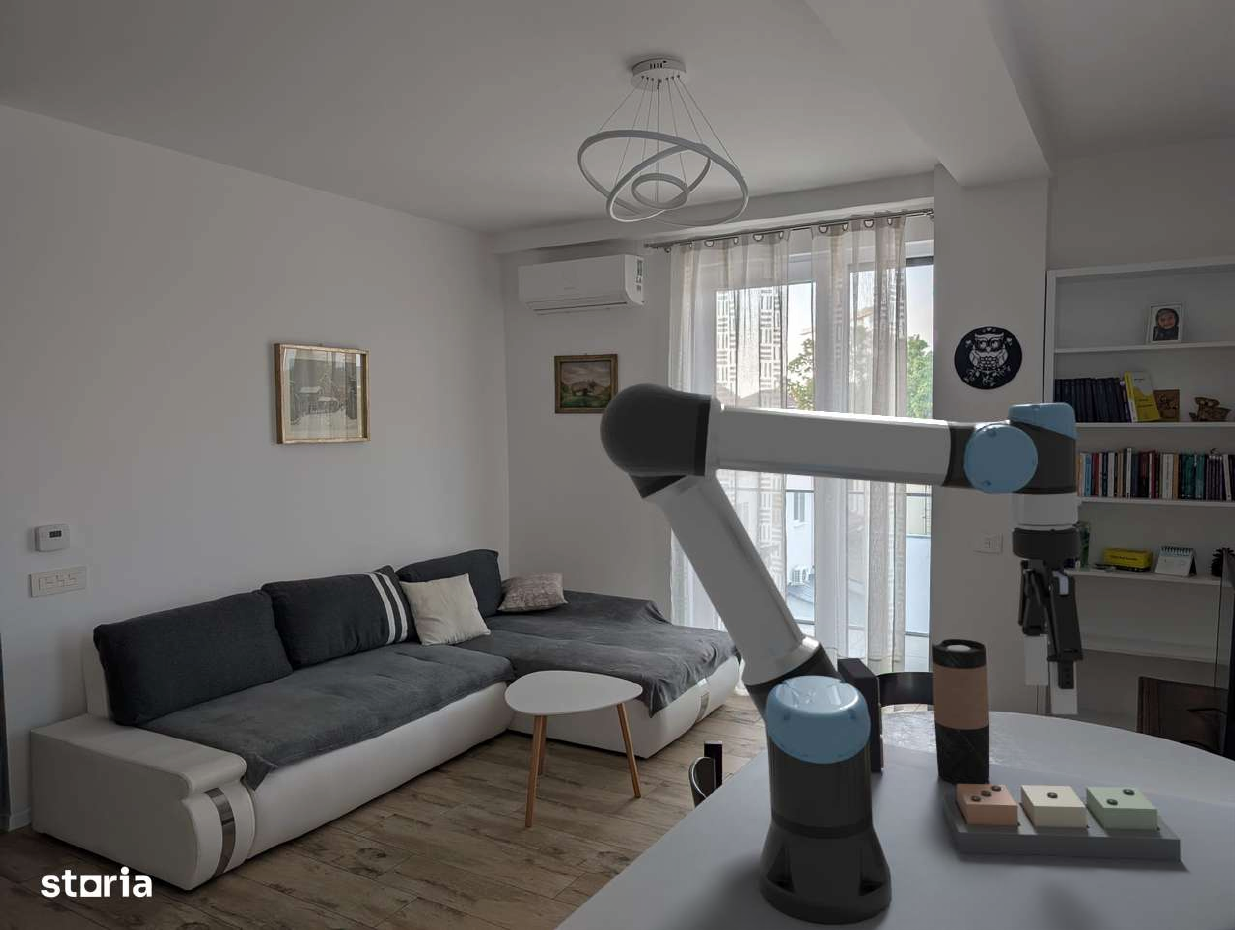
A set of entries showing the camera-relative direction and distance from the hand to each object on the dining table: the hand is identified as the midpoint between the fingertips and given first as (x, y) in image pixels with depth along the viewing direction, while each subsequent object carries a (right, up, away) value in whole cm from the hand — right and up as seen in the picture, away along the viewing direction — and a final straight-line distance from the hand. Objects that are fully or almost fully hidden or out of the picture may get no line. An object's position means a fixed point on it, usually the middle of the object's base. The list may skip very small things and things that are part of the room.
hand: (1049, 697), depth 108 cm
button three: (-7, -16, +2) cm, 18 cm away
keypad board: (+1, -18, +1) cm, 18 cm away
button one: (+1, -16, +1) cm, 16 cm away
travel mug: (-3, -17, +19) cm, 26 cm away
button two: (+9, -15, -1) cm, 18 cm away
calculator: (-16, -18, +27) cm, 36 cm away
